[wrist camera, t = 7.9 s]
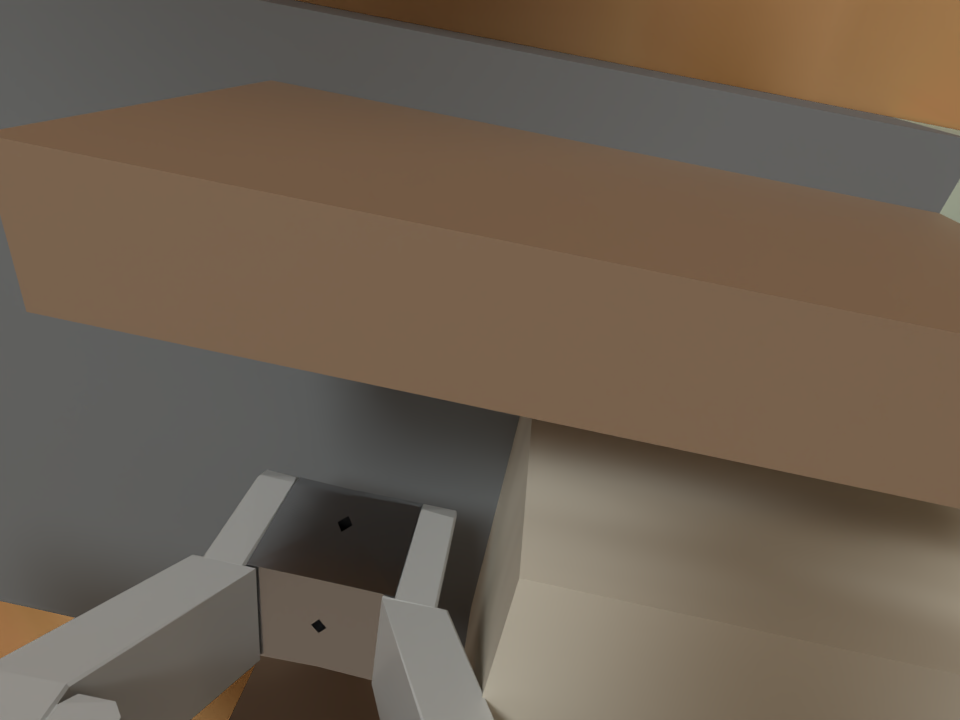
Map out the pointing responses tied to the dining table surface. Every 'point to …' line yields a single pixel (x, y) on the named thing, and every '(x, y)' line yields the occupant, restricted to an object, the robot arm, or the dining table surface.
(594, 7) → the dining table surface
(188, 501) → the board
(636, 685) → the birch block
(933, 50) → the dining table surface
